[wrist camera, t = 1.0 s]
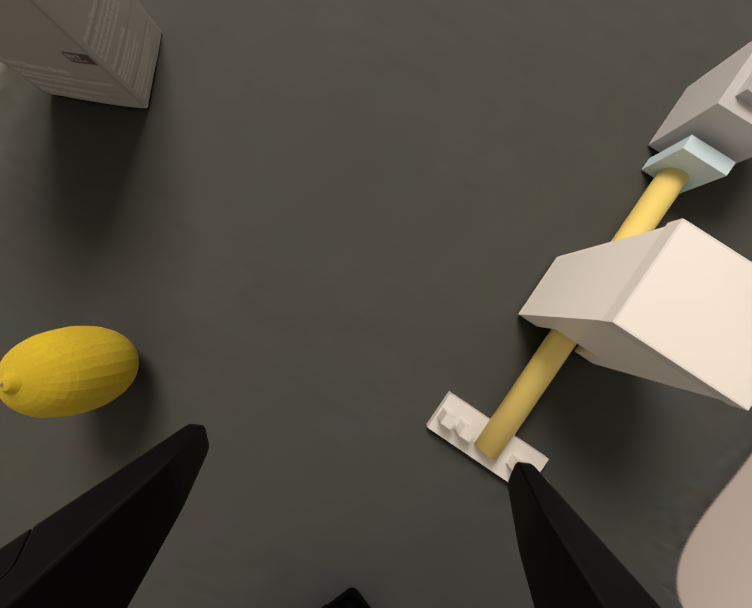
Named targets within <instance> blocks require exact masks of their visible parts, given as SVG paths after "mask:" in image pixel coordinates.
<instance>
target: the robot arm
mask: <svg viewBox="0 0 752 608" xmlns="http://www.w3.org/2000/svg"><path fill="white" fill-rule="evenodd" d="M208 449H209V442H208V438H207V434H206V430H205V427H204V426H203V425H198V424H189V425H186V426H185V427H183V428H182V429H180V430H179V431H177V432H176V433H174V434H173V435H171V436H170V437H168V438H167V439H165V440H164V441H162V442H161V443H159V444H158V445H156V446H155V447H153V448H152V449H150V450H149V451H147V452H146V453H144V454H143V455H141V456H139V457H138V458H136V459H135V460H133V461H132V462H130V463H129V464H127V465H126V466H124V467H123V468H121V469H120V470H118V471H117V472H115V473H114V474H112V475H111V476H109V477H108V478H106V479H105V480H103V481H102V482H100V483H99V484H97V485H96V486H94V487H93V488H91V489H90V490H88V491H87V492H85V493H84V494H82V495H81V496H79V497H78V498H76V499H75V500H73V501H72V502H70V503H69V504H67V505H66V506H64V507H62V508H61V509H59V510H58V511H56V512H55V513H53V514H52V515H50V516H49V517H47V518H46V519H44V520H43V521H41V522H40V523H38V524H37V525H35V526H34V527H33V529H30V530H28V531H26V532H25V533H23V534H22V535H20V536H19V537H17V538H15V539H14V540H12V541H11V542H9V543H8V544H6V545H5V546H3V547H2V548H0V608H127V607H128V605H129V603H130V602H131V600H132V598H133V596H134V594H135V593H136V591H137V589H138V587H139V585H140V584H141V582H142V580H143V578H144V577H145V575H146V573H147V571H148V569H149V568H150V566H151V564H152V562H153V560H154V559H155V557H156V555H157V553H158V551H159V550H160V548H161V546H162V544H163V543H164V541H165V539H166V537H167V535H168V534H169V532H170V530H171V528H172V526H173V525H174V523H175V521H176V519H177V518H178V516H179V514H180V512H181V510H182V508H183V506H184V504H185V502H186V500H187V498H188V495H189V493H190V491H191V489H192V486H193V484H194V482H195V480H196V477H197V475H198V473H199V471H200V468H201V466H202V464H203V462H204V459H205V457H206V455H207V452H208ZM508 490H509V496H510V502H511V507H512V513H513V519H514V525H515V531H516V536H517V542H518V547H519V551H520V555H521V559H522V563H523V567H524V571H525V574H526V578H527V582H528V585H529V589H530V593H531V596H532V600H533V604H534V607H535V608H661V607H660V605H659V604H658V603H657V602H656V601H655V600H654V599H653V598H652V596H651V595H650V594H649V593H648V592H647V591H646V590H645V589H644V588H643V586H642V585H641V584H640V583H639V582H638V581H637V580H636V579H635V578H634V576H633V575H632V574H631V573H630V572H629V571H628V570H627V569H626V568H625V566H624V565H623V564H622V563H621V562H620V561H619V560H618V559H617V557H616V556H615V555H614V554H613V553H612V552H611V551H610V550H609V549H608V547H607V546H606V545H605V544H604V543H603V542H602V541H601V540H600V539H599V537H598V536H597V535H596V534H595V533H594V532H593V531H592V530H591V529H590V527H589V526H588V525H587V524H586V523H585V522H584V521H583V520H582V518H581V517H580V516H579V515H578V514H577V513H576V512H575V511H574V510H573V508H572V507H571V506H570V505H569V504H568V503H567V502H566V501H565V500H564V498H563V497H562V496H561V495H560V494H559V493H558V492H557V491H556V490H555V488H554V487H553V486H552V485H551V484H550V483H549V482H548V481H547V479H546V478H545V477H544V476H543V475H542V474H541V473H540V472H539V471H538V469H537V468H536V467H535V466H534V465H532V464H531V463H525V462H517V463H515V465H514V468H513V470H512V473H511V475H510V477H509V480H508ZM350 596H353V597H354V598H351V597H350ZM322 608H371V607H370V606H369V605H368V604H367V602H366V601H365V600H364V598H363V597H362V596H361V594H360V593H359V592H358V591H357V590H356V589H355V588H349V589H347V590H346V591H345V592H343V593H342V594H341V595H340V596H338V597H337V598H336V599H334V600H333V601H332V602H330V603H329V604H326V605H324V606H323V607H322Z"/></svg>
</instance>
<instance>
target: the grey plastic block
mask: <svg viewBox="0 0 752 608" xmlns="http://www.w3.org/2000/svg"><path fill="white" fill-rule="evenodd" d="M648 146H650V147H652V148H653V149H655V150H656V151H658V152H659V153H658V154H656V155H654V156H653V157H651V158H649V159H648V161H647V162H646V164H645V165H644V167H643V168H642V171H644V172H646V173H647V174H649V175H650V176H652V177H653V178H654V177H655V176H656V174H657V173H658V172H659V171H660V170H662V169H664V168H678V169H681V170H683V171H685V172H686V173H687V174H688V175H689V179H688V181H687V183H686V184H685V185H684V187H683V188H682V190H681V191H680V193H682V192H685V191H688V190H690V189H693V188H696V187H698V186H701V185H704V184H706V183H709V182H712V181H714V180H717V179H720V178H722V177H725V176H727V175H728V173H729V172H730V170H731V169H732V167H733V166H734V164H736V163H739V162H741V161H744V160H746V159H749V158H751V157H752V41H751V42H750V43H748V44H747V45H746V46H744V47H743V48H741V49H740V50H739V51H737V52H736V53H734V54H733V55H732V56H730V57H729V58H727V59H726V60H725V61H723V62H722V63H721V64H719V65H718V66H716V67H715V68H714V69H712V70H711V71H709V72H708V73H707V74H705V75H704V76H703V77H701V78H700V79H698V80H697V81H696V82H694V83H693V84H691V85H690V86H689V87H687V88H686V90H685V91H684V93H683V94H682V96H681V97H680V99H679V100H678V102H677V103H676V105H675V106H674V108H673V109H672V111H671V112H670V114H669V115H668V117H667V118H666V119H665V121H664V122H663V124H662V125H661V127H660V128H659V130H658V131H657V133H656V134H655V136H654V137H653V139H652V140H651V142H650V143H649V145H648ZM680 193H679V194H680Z"/></svg>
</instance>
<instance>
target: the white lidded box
mask: <svg viewBox="0 0 752 608" xmlns="http://www.w3.org/2000/svg"><path fill="white" fill-rule="evenodd" d="M519 315H520V316H522V317H523V318H525V319H526V320H528V321H529V322H531V323H532V324H534V325H535V326H537V327H544V328H551V329H556V330H557V331H559V332H560V333H562V334H563V335H565V336H566V337H568V338H569V339H571V340H572V341H574V342H576V343H577V344H579V345H578V346H577V348H576V349H575V350H574V351H575V352H576V353H578V354H579V355H581V356H582V357H584V358H585V359H587V360H588V361H590V362H591V363H593V364H596V365H600V366H603V367H607V368H610V369H614V370H617V371H621V372H624V373H628V374H631V375H635V376H638V377H642V378H646V379H649V380H653V381H656V382H660V383H663V384H667V385H670V386H674V387H677V388H681V389H684V390H688V391H691V392H695V393H698V394H702V395H705V396H709V397H713V398H716V399H720V400H722V401H724V402H725V403H727V404H728V405H730V406H734V407H737V408H740V409H744V410H747V411H748V410H749V409H750V407H751V406H752V262H751V261H749V260H747V259H746V258H744V257H743V256H741V255H740V254H738V253H736V252H735V251H733V250H732V249H730V248H729V247H727V246H726V245H724V244H722V243H721V242H719V241H718V240H716V239H715V238H713V237H711V236H710V235H708V234H707V233H705V232H704V231H702V230H701V229H699V228H697V227H696V226H694V225H693V224H691V223H690V222H688V221H686V220H685V219H683V218H682V219H679V220H675V221H672V222H669V223H667V225H666V226H665V227H663V228H659V229H655V230H652V231H648V232H645V233H641V234H638V235H634V236H630V237H627V238H623V239H620V240H616V241H612V242H609V243H605V244H602V245H598V246H594V247H591V248H587V249H584V250H580V251H577V252H573V253H569V254H566V255H562V256H559V257H557V258H556V259H555V261H554V262H553V263H552V265H551V266H550V268H549V269H548V271H547V272H546V274H545V275H544V277H543V278H542V280H541V281H540V283H539V284H538V286H537V287H536V289H535V290H534V292H533V293H532V295H531V296H530V297H529V299H528V300H527V302H526V303H525V305H524V306H523V308H522V309H521V311H520V312H519Z"/></svg>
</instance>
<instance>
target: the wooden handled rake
mask: <svg viewBox="0 0 752 608" xmlns="http://www.w3.org/2000/svg"><path fill="white" fill-rule="evenodd" d="M688 179H689V175H688V174H687V173H686V172H685V171H683V170H681V169H678V168H664V169H662V170H660V171H659V172H658V173H657V174H656V176H655V177H654V179H653V180H652V182H651V183H650V185H649V186H648V188H647V189H646V190H645V192H644V193H643V195H642V196H641V198H640V199H639V201H638V202H637V204H636V205H635V207H634V208H633V210H632V211H631V213H630V214H629V216H628V217H627V218H626V220H625V221H624V223H623V224H622V226H621V227H620V229H619V230H618V232H617V233H616V235H615V236H614V238H613V239H612V241H616V240H620V239H623V238H627V237H630V236H634V235H638V234H641V233H645V232H648V231H652V230H655V228H656V227H657V225H658V224H659V222H660V221H661V219H662V218H663V216H664V215H665V213H666V212H667V210H668V209H669V208H670V206H671V205H672V203H673V202H674V200H675V199H676V197H677V196H678V194H679V193H680V191H681V190H682V188H683V187H684V185H685V184H686V183H687V181H688ZM612 241H611V242H612ZM576 344H577V343H576V342H574V341H572V340H571V339H569V338H568V337H566V336H565V335H563V334H562V333H560V332H559V331H557V330H556V329H551V330H550V332H549V333H548V335H547V336H546V338H545V339H544V341H543V342H542V344H541V345H540V347H539V348H538V349H537V351H536V352H535V354H534V355H533V357H532V358H531V360H530V361H529V363H528V364H527V366H526V367H525V369H524V370H523V372H522V373H521V375H520V376H519V377H518V379H517V380H516V382H515V383H514V385H513V386H512V388H511V389H510V391H509V392H508V394H507V395H506V397H505V398H504V400H503V401H502V402H501V404H500V405H499V407H498V408H497V410H496V411H495V413H494V414H493V416H492V417H491V419H490V418H488V417H487V416H485V415H484V414H482V413H481V412H479V411H478V410H476V409H475V408H473V407H472V406H471V405H469V404H468V403H466V402H465V401H463V400H462V399H460V398H459V397H457V396H456V395H454V394H453V393H451V392H450V391H449V392H448V393H447V395H446V396H445V398H444V399H443V401H442V402H441V404H440V405H439V406H438V408H437V409H436V411H435V412H434V414H433V415H432V417H431V418H430V420H429V421H428V423H427V424H426V425H427V428H429V429H430V430H432V431H433V432H435V433H436V434H438V435H439V436H441V437H442V438H444V439H445V440H447V441H448V442H450V443H451V444H452V445H454V446H455V447H457V448H458V449H460V450H461V451H463V452H464V453H466V454H467V455H469V456H470V457H472V458H473V459H475V460H476V461H478V462H479V463H481V464H482V465H483V466H485V467H486V468H488V469H489V470H491V471H492V472H494V473H495V474H497V475H498V476H500V477H501V478H503V479H504V480H506V481H507V482H508V480H509V477H510V475H511V473H512V470H513V468H514V465H515V463H517V462H525V463H531V464H532V465H534V466H535V467H536V468H537V469H538V471H539V472H541V470H542V469H543V467H544V466H545V464H546V463H547V461H548V460H549V459H548V458H547V457H546V456H545V455H543V454H542V453H540V452H539V451H537V450H536V449H534V448H533V447H531V446H530V445H528V444H527V443H526V442H524V441H523V440H521V439H520V438H518V437H517V436H515V434H516V432H517V431H518V429H519V428H520V426H521V425H522V423H523V422H524V420H525V419H526V417H527V416H528V415H529V413H530V412H531V410H532V409H533V407H534V406H535V404H536V403H537V401H538V400H539V398H540V397H541V395H542V394H543V392H544V391H545V390H546V388H547V387H548V385H549V384H550V382H551V381H552V379H553V378H554V376H555V375H556V373H557V372H558V370H559V369H560V368H561V366H562V365H563V363H564V362H565V360H566V359H567V357H568V356H569V354H570V353H571V351H572V350H573V348H574V347H575V346H576ZM547 481H548V480H547ZM548 482H549V481H548Z"/></svg>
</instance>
